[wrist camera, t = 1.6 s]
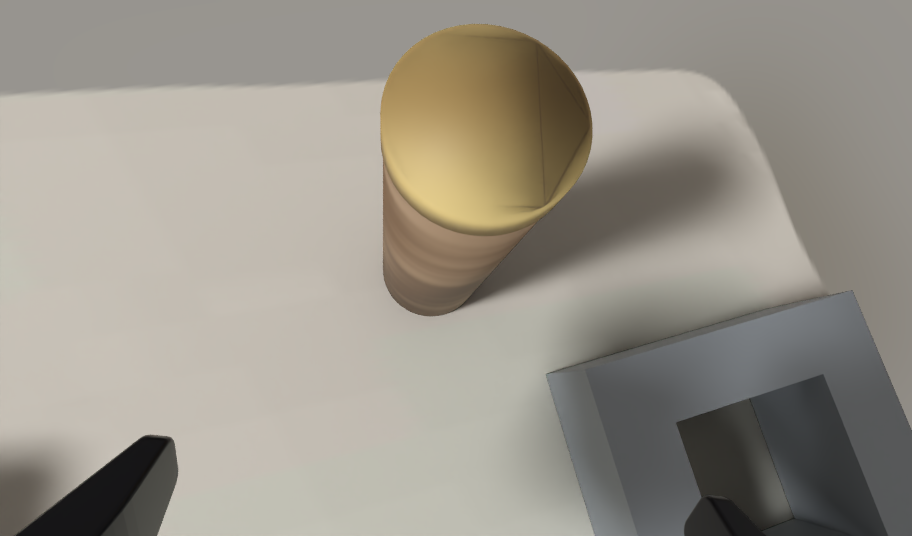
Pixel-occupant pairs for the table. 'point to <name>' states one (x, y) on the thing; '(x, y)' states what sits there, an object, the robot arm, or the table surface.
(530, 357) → the table surface
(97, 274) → the table surface
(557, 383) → the socket block
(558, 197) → the peg
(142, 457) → the robot arm
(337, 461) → the table surface
